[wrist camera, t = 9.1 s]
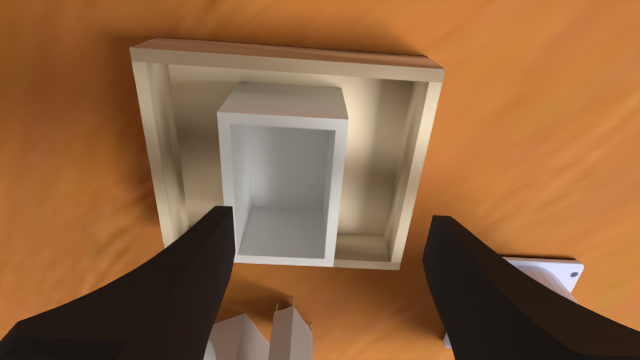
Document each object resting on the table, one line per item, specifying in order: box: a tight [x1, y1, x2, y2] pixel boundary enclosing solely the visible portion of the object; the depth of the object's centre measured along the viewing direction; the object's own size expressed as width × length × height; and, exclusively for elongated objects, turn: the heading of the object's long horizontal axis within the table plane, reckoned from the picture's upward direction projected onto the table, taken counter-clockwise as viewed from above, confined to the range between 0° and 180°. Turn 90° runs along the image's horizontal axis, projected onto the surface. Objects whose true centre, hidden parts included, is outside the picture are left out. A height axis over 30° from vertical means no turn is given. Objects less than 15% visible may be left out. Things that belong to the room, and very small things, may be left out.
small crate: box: [217, 82, 349, 267], centre depth 19 cm, size 8×5×5 cm
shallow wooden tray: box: [129, 37, 445, 270], centre depth 20 cm, size 12×14×3 cm
